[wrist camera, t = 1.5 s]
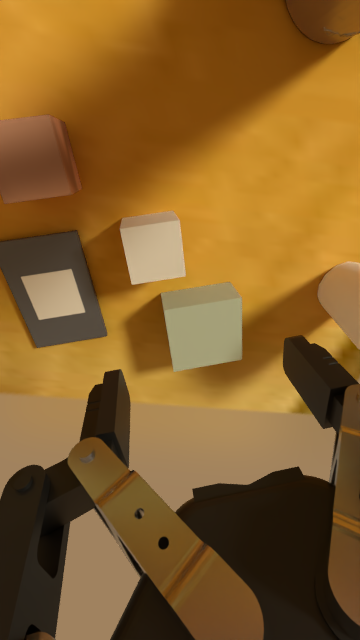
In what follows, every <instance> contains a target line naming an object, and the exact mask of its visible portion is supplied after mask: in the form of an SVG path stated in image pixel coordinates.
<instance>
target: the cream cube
mask: <svg viewBox="0 0 360 640" xmlns="http://www.w3.org/2000/svg"><path fill="white" fill-rule="evenodd" d="M120 233H121V238H122V242H123V247H124V251H125V256H126V260H127V265H128V270H129V274H130V279H131V283H132V285H134V284H140V283H146V282H153V281H159V280H165V279H171V278H178V277H184V276H186V273H185V264H184V255H183V246H182V237H181V228H180V220H179V219H178V217H177V216H176V214H175V213H174V211H167V212H160V213H154V214H147V215H140V216H133V217H126V218H122V221H121V225H120Z"/></svg>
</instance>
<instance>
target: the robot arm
mask: <svg viewBox="0 0 360 640" xmlns="http://www.w3.org/2000/svg"><path fill="white" fill-rule="evenodd" d="M286 4H287V8H288V11H289V13H290V15H291V17H292V19H293V21H294V23H295V24H296V26H297V27H298V28H299V29H300V31H301V32H302V33H303V34H304V35H306V36H307V37H308V38H310V39H311V40H314V41H316V42H319V43H323V44H334V43H338V42H342V41H345V40H347V39H349V38H351V37H353V36H354V35H357V34H359V33H360V0H286ZM283 368H284V371H285V374H286V375H287V377H288V378H289V380H290V381H291V383H292V384H293V386H294V387H295V389H296V390H297V392H298V393H299V394H300V396H301V397H302V399H303V400H304V402H305V403H306V405H307V406H308V408H309V409H310V411H311V412H312V413H313V415H314V416H315V418H316V419H317V421H318V422H319V424H320V425H321V427H322V428H323V429H325V428H330V427H333V428H334V429H335V431H336V435H335V441H334V448H333V456H332V465H331V471H330V478H329V482H327V481H325V480H323V479H320V478H316V477H312V476H306V475H303V474H302V472H301V470H300V468H299V467H294V468H289V469H285V470H280V471H275V472H272V473H270V474H268V475H267V476H264V477H263V478H261V479H259V480H257V481H255V482H253V483H251V484H249V485H238V484H214V485H209V486H204V487H200V488H195V489H193V496H194V498H192V499H190V500H189V501H187V502H186V503H184V504H183V505H182V506H181V507H180V508H179V509H178V510H177V511H176V512H174V511H173V510H172V509H171V508H170V507H169V506H168V505H167V504H166V503H165V502H164V501H163V499H162V498H161V497H160V496H159V495H158V494H157V493H156V492H155V491H154V490H153V489H152V488H151V487H150V486H149V485H148V483H147V482H146V481H145V480H144V479H143V478H142V477H141V476H140V475H139V474H138V473H137V472H136V471H134V470H133V471H130V470H129V469H128V468H129V437H130V436H129V435H130V396H129V392H128V389H127V386H126V382H125V379H124V376H123V373H122V370H121V369H119V370H113V371H108V372H105V373H104V379H103V384H98V385H95V386H94V388H93V389H92V391H91V392H90V393H89V398H88V402H87V403H88V405H87V407H86V413H85V417H84V422H83V427H82V432H81V437H80V442H79V443H77V444H76V445H75V446H74V448H72V450H71V452H70V453H69V456H68V458H66V459H65V460H63V461H61V462H59V463H57V464H55V465H53V466H51V467H49V468H47V469H45V470H44V469H43V468H42V467H41V466H38V465H30V466H27V467H25V468H22V469H21V470H19V471H18V472H16V473H15V474H14V475H13V476H12V477H11V478H10V479H9V481H8V482H7V484H6V485H5V488H4V490H3V493H2V496H1V499H0V640H55V634H56V627H57V619H58V611H59V603H60V595H61V588H62V581H63V572H64V565H65V557H66V550H67V542H68V534H69V527H70V521H72V520H74V519H76V518H77V517H79V516H81V515H83V514H84V513H86V512H88V511H90V510H91V509H94V510H95V512H96V513H97V514H98V516H99V517H100V519H101V520H102V522H103V523H104V524H105V526H106V528H107V529H108V530H109V532H110V533H111V535H112V536H113V538H114V539H115V540H116V542H117V544H118V545H119V547H120V548H121V550H122V551H123V553H124V554H125V556H126V558H127V559H128V561H129V562H130V564H131V565H132V567H133V568H134V570H135V571H136V572H137V574H138V575H139V577H140V580H139V582H138V585H137V587H136V588H135V590H134V592H133V594H132V596H131V599H130V601H129V603H128V605H127V607H126V609H125V611H124V613H123V615H122V617H121V619H120V621H119V623H118V625H117V627H116V629H115V631H114V633H113V635H112V637H111V639H110V640H360V384H359V383H358V382H357V381H356V380H355V379H354V378H353V377H352V376H351V375H350V374H349V373H348V372H347V371H346V370H345V369H344V368H343V367H342V366H341V365H340V364H339V363H338V362H337V361H336V360H335V359H334V358H333V357H332V356H331V354H330V353H329V352H328V351H327V350H326V349H324V348H323V347H321V346H319V345H317V344H315V343H314V344H310V343H309V342H308V341H307V340H306V339H305V338H304V337H303V336H302V335H299V336H294V337H289V338H285V340H284V352H283Z"/></svg>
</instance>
